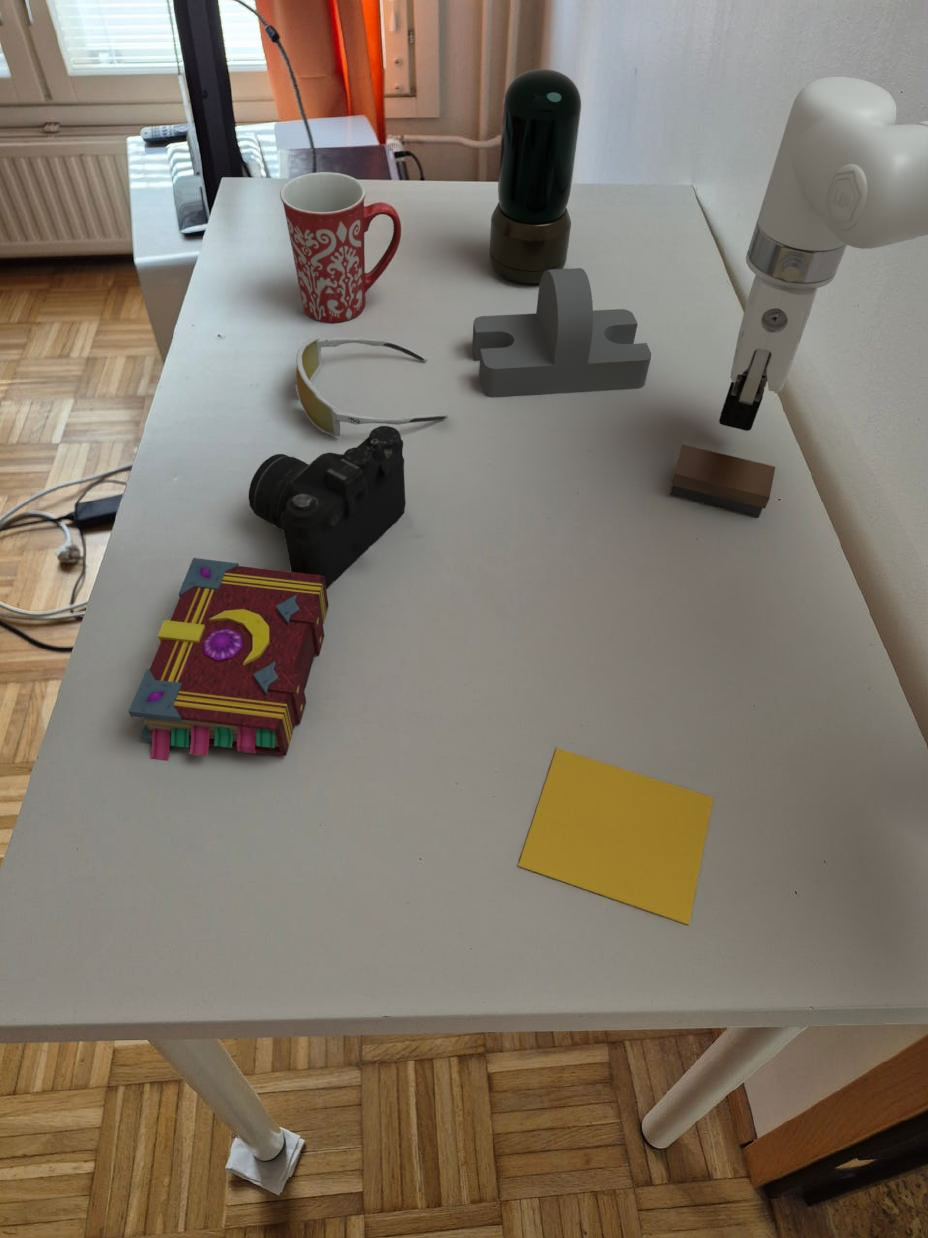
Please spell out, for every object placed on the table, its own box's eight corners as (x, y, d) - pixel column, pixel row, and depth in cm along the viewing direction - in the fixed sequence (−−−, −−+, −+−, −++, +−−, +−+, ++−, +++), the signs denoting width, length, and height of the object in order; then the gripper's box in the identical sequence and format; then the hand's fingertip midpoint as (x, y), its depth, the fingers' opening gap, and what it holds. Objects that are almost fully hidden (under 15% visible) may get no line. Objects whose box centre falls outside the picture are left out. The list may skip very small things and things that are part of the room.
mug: (293, 329, 101) (277, 212, 90) (295, 285, 106) (281, 171, 96) (404, 327, 102) (402, 211, 91) (400, 283, 107) (398, 170, 97)
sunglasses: (286, 365, 96) (287, 324, 92) (420, 365, 100) (426, 326, 97) (304, 450, 87) (306, 409, 84) (450, 446, 92) (458, 407, 88)
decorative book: (332, 608, 75) (327, 568, 71) (286, 775, 65) (277, 740, 61) (202, 593, 76) (190, 553, 72) (136, 756, 66) (118, 720, 62)
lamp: (556, 247, 114) (579, 55, 97) (572, 287, 108) (599, 90, 91) (483, 249, 113) (493, 56, 96) (494, 290, 107) (507, 92, 90)
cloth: (712, 798, 65) (713, 797, 65) (688, 925, 59) (689, 924, 59) (556, 749, 68) (556, 747, 67) (517, 866, 62) (518, 865, 61)
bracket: (647, 387, 96) (668, 297, 88) (483, 397, 94) (489, 306, 86) (625, 336, 102) (643, 247, 94) (470, 344, 100) (474, 254, 91)
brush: (766, 489, 86) (775, 466, 84) (760, 520, 84) (769, 497, 81) (675, 466, 88) (682, 443, 86) (666, 496, 85) (673, 472, 83)
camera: (333, 464, 87) (323, 378, 79) (419, 510, 83) (419, 426, 75) (231, 547, 79) (209, 462, 72) (321, 602, 76) (309, 519, 68)
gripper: (834, 305, 69) (763, 480, 83) (848, 216, 78) (781, 388, 92) (737, 284, 70) (684, 460, 85) (762, 200, 79) (710, 371, 94)
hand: (735, 422), depth 88 cm, fingers closed
